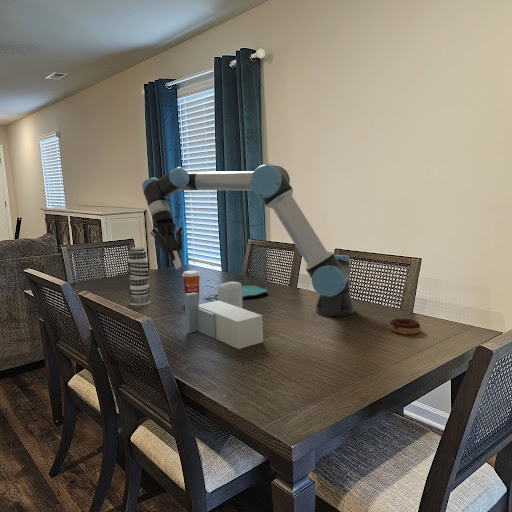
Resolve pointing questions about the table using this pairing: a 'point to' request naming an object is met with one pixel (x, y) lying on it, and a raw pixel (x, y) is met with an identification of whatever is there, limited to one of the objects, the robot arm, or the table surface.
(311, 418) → the table surface
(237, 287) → the grey gravestone
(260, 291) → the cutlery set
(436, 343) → the table surface
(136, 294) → the decorative candle
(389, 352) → the table surface
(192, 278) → the paper cup
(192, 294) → the side door
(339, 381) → the table surface
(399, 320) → the donut
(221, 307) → the white rectangular block
